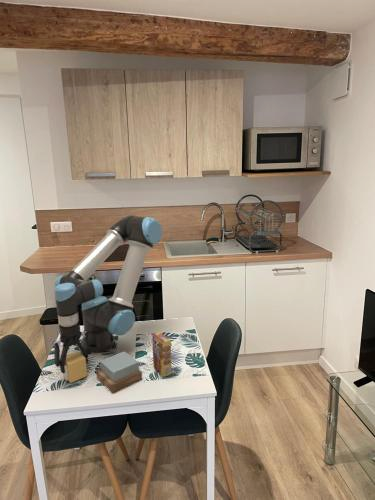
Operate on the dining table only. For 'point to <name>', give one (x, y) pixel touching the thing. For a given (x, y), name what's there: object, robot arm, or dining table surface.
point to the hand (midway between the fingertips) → (75, 374)
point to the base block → (120, 383)
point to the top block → (119, 366)
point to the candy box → (161, 354)
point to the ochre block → (76, 366)
